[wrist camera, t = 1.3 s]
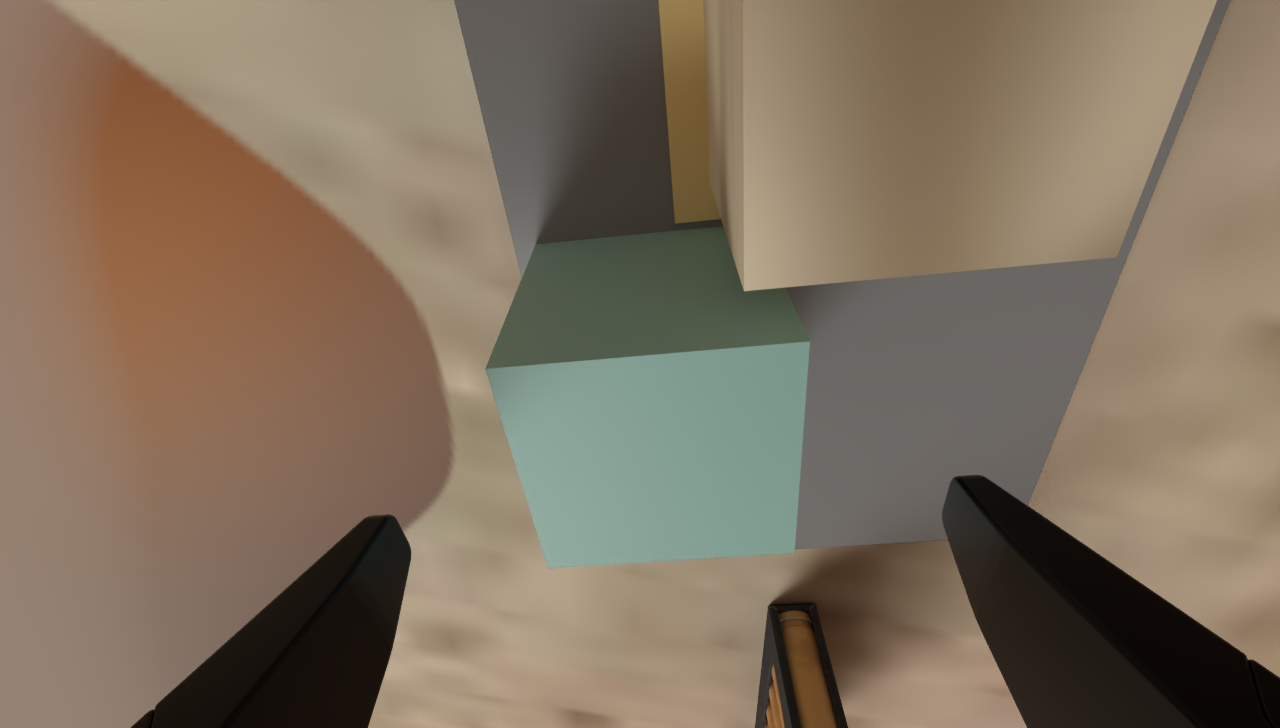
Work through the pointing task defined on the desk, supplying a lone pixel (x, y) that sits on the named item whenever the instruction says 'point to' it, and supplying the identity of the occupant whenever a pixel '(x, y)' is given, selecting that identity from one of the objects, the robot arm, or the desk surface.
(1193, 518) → the desk surface
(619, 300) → the teal block
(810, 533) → the grey flat plate
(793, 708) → the ammunition clip
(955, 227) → the maple block
